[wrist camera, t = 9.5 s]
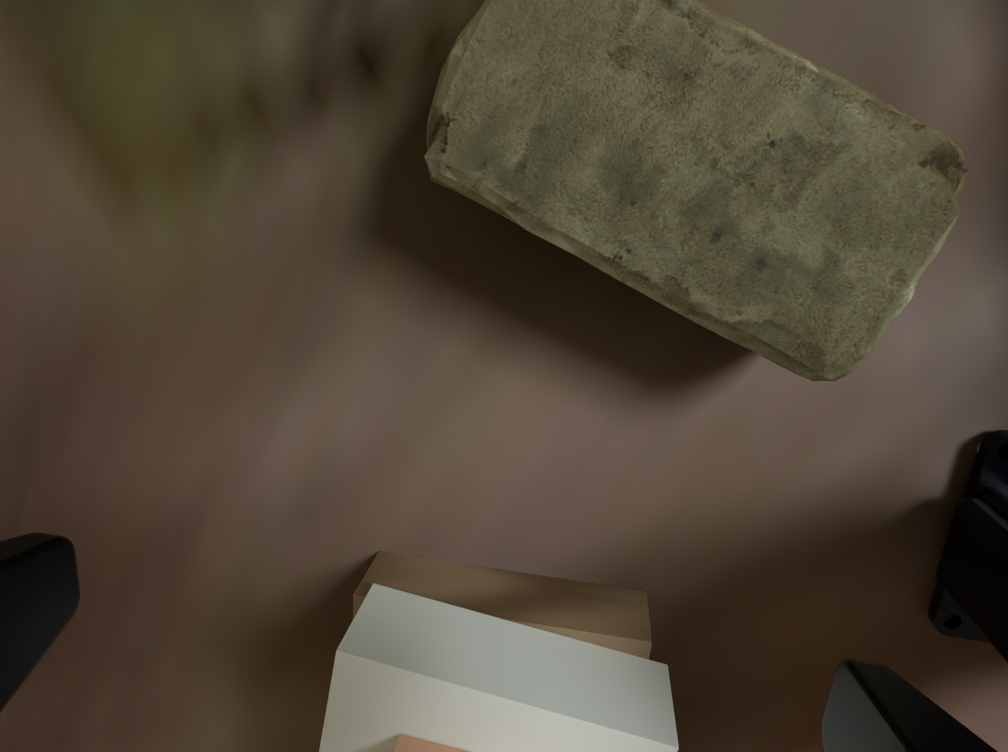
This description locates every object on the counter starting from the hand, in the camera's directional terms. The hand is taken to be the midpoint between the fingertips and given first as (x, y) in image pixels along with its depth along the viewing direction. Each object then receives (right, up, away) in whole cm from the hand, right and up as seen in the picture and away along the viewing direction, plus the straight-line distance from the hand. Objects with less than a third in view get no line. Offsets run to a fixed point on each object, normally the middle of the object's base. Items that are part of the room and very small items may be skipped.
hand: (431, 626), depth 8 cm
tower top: (0, -9, +14) cm, 16 cm away
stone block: (+5, +9, +11) cm, 15 cm away
